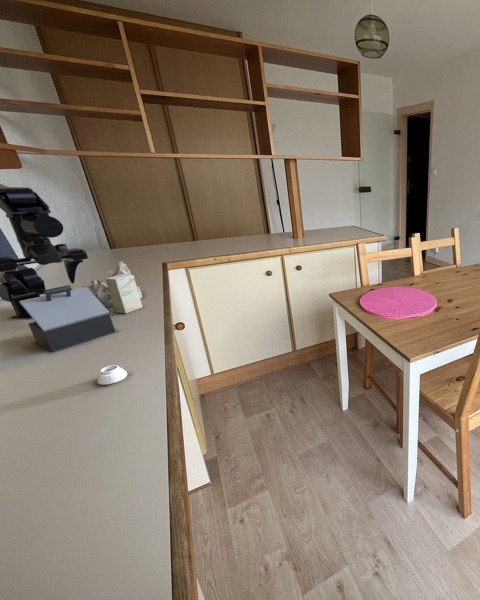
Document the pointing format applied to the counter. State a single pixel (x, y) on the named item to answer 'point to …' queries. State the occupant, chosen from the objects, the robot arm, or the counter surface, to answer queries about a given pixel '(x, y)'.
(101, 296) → the beige crumpled lump
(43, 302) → the bread lid
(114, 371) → the upturned white bowl
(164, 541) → the counter surface
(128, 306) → the cosmetic box
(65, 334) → the sloped grey box
